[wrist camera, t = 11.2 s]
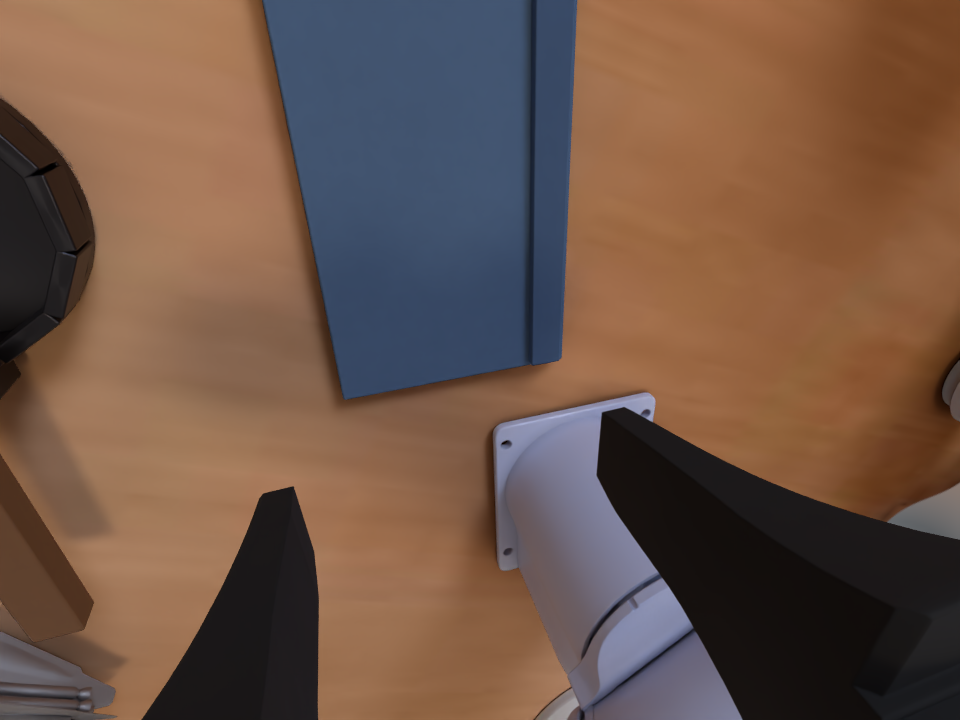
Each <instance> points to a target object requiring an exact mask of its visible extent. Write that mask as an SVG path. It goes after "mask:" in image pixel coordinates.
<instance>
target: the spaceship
mask: <svg viewBox="0 0 960 720" xmlns="http://www.w3.org/2000/svg"><path fill="white" fill-rule="evenodd" d="M115 692H116V691H115V688H113V687H111V686H109V685H107V684H105V683H102V682H100V681H98V680H96V679H94V678H92V677H90V676H88V675H85V674H83V673H82V670H81V667H78V666H76V665H74V664H72V663H69V662H67V661H65V660H63V659H61V658H58V657H56V656H54V655H52V654H49V653H47V652H45V651H43V650H41V649H38V648H36V647H34V646H32V645H30V644H27V643H25V642H23V641H21V640H18V639H16V638H14V637H12V636H10V635H7V634H5V633H3V632H1V631H0V720H98V719H110V718H115V717H118V716H114V715H105V714H97V713H93V712H94V709H98V708H101V707H105V706H109V705H110V704H111V703H112V702H113V699H114V696H115Z"/></svg>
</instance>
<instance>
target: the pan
mask: <svg viewBox="0 0 960 720" xmlns="http://www.w3.org/2000/svg"><path fill="white" fill-rule="evenodd" d="M94 250H95V245H94V229H93V223H92V217H91V213H90V210H89V207H88V204H87V201H86V198H85V196H84V194H83V192H82V190H81V187H80V185H79V183H78V181H77V179H76V177H75V176H74V174H73V173H72V171H71V170H70V168H69V166H68V165H67V163H66V162H65V160H64V159H63V158H62V156H61V155H60V154H59V153H58V151H57V150H56V149H55V148H54V146H53V145H52V144H51V143H50V141H49V140H48V139H47V138H46V137H45V136H44V135H43V134H42V133H41V132H40V131H39V130H38V129H37V128H36V127H35V126H34V125H33V124H32V123H31V122H30V121H28V120H27V119H26V118H25V117H24V116H22V115H21V114H20V113H19V112H18V111H17V110H15V109H14V108H13V107H12V106H10V105H9V104H7V103H6V102H5V101H3V100H2V99H0V399H1V398H2V397H3V396H4V394H5V393H6V392H7V391H8V390H9V389H10V387H11V386H12V385H13V384H14V383H15V381H16V380H17V379H18V378H19V377H20V375H21V373H20V371H19V369H18V367H17V365H16V364H15V362H14V359H15V358H16V357H18V356H19V355H20V354H21V353H23V352H24V351H25V350H27V349H28V348H29V347H31V346H32V345H33V344H35V343H36V342H37V341H39V340H40V339H41V338H42V337H44V336H45V335H46V334H48V333H49V332H50V331H52V330H53V329H54V328H56V327H57V326H58V325H60V323H61V322H62V321H63V320H64V319H65V318H66V316H67V315H68V314H69V313H70V312H71V311H72V309H73V308H74V307H75V306H76V303H77V302H78V301H79V300H80V295H81V291H82V289H83V287H84V285H85V284H86V282H87V280H88V277H89V274H90V271H91V268H92V264H93V257H94ZM0 601H1V602H2V603H3V605H4V606H5V607H6V608H7V610H8V611H9V612H10V614H11V615H12V616H13V618H14V619H15V620H16V621H17V623H18V624H19V625H20V627H21V628H22V629H23V631H24V632H25V633H26V634H27V636H28V637H29V638H30V640H31V641H32V642H39V641H43V640H46V639H50V638H54V637H58V636H62V635H66V634H70V633H74V632H78V631H82V630H84V629H85V626H86V624H87V621H88V618H89V615H90V613H91V610H92V607H93V604H94V601H93V600H92V598H91V596H90V595H89V593H88V592H87V590H86V588H85V587H84V585H83V584H82V582H81V581H80V579H79V577H78V576H77V574H76V573H75V571H74V570H73V568H72V566H71V565H70V563H69V562H68V560H67V558H66V557H65V555H64V554H63V552H62V551H61V549H60V547H59V546H58V544H57V543H56V541H55V540H54V538H53V536H52V535H51V533H50V532H49V530H48V528H47V527H46V525H45V524H44V522H43V521H42V519H41V517H40V516H39V514H38V513H37V511H36V510H35V508H34V506H33V505H32V503H31V502H30V500H29V498H28V497H27V495H26V494H25V492H24V491H23V489H22V487H21V486H20V484H19V483H18V481H17V480H16V478H15V476H14V475H13V473H12V472H11V470H10V468H9V467H8V465H7V464H6V462H5V461H4V459H3V457H2V456H1V454H0Z"/></svg>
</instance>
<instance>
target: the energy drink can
mask: <svg viewBox="0 0 960 720" xmlns="http://www.w3.org/2000/svg"><path fill="white" fill-rule="evenodd" d="M942 397H943V400H944V402H945V403H946V404H948V405H949V406H950V410H951V414H952V416H953V418H954V419H956V420H957V421H959V422H960V360H959V361H958V362H957V363H956V365H955V366H954V367H953V368H952V370H951V371H950V373H949V375H948V376H947V379H946V381H945V383H944V386H943V391H942Z"/></svg>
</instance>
